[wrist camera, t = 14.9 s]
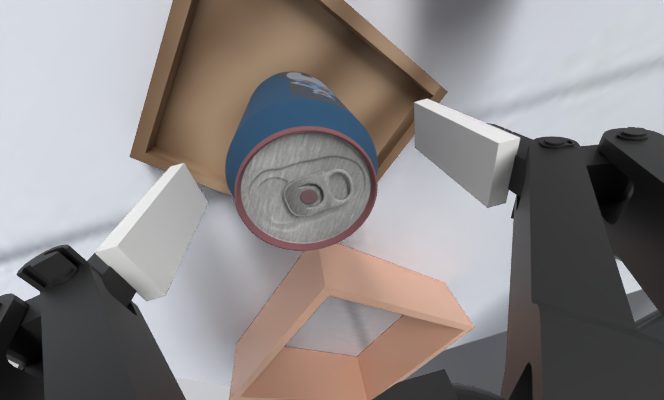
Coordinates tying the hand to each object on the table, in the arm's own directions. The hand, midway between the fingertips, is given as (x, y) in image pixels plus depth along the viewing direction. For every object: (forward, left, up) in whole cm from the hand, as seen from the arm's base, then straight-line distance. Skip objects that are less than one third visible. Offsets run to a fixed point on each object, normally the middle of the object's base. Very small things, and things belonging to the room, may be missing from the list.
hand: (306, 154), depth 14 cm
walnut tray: (0, 0, -8) cm, 8 cm away
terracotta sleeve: (-20, +22, -8) cm, 31 cm away
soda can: (0, 0, -7) cm, 7 cm away
